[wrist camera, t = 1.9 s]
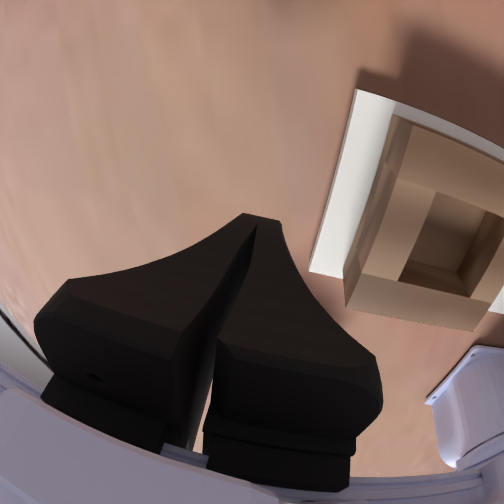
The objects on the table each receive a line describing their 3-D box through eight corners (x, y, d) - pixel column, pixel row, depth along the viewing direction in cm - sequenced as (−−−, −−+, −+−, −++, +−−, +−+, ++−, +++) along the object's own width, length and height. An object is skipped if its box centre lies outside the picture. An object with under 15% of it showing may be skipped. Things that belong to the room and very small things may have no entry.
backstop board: (522, 311, 19) (548, 361, 14) (309, 262, 20) (304, 329, 15) (581, 200, 13) (625, 239, 8) (355, 88, 14) (378, 95, 9)
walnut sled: (457, 296, 18) (472, 332, 15) (342, 270, 19) (345, 308, 16) (518, 169, 13) (549, 192, 10) (392, 113, 13) (413, 125, 10)
